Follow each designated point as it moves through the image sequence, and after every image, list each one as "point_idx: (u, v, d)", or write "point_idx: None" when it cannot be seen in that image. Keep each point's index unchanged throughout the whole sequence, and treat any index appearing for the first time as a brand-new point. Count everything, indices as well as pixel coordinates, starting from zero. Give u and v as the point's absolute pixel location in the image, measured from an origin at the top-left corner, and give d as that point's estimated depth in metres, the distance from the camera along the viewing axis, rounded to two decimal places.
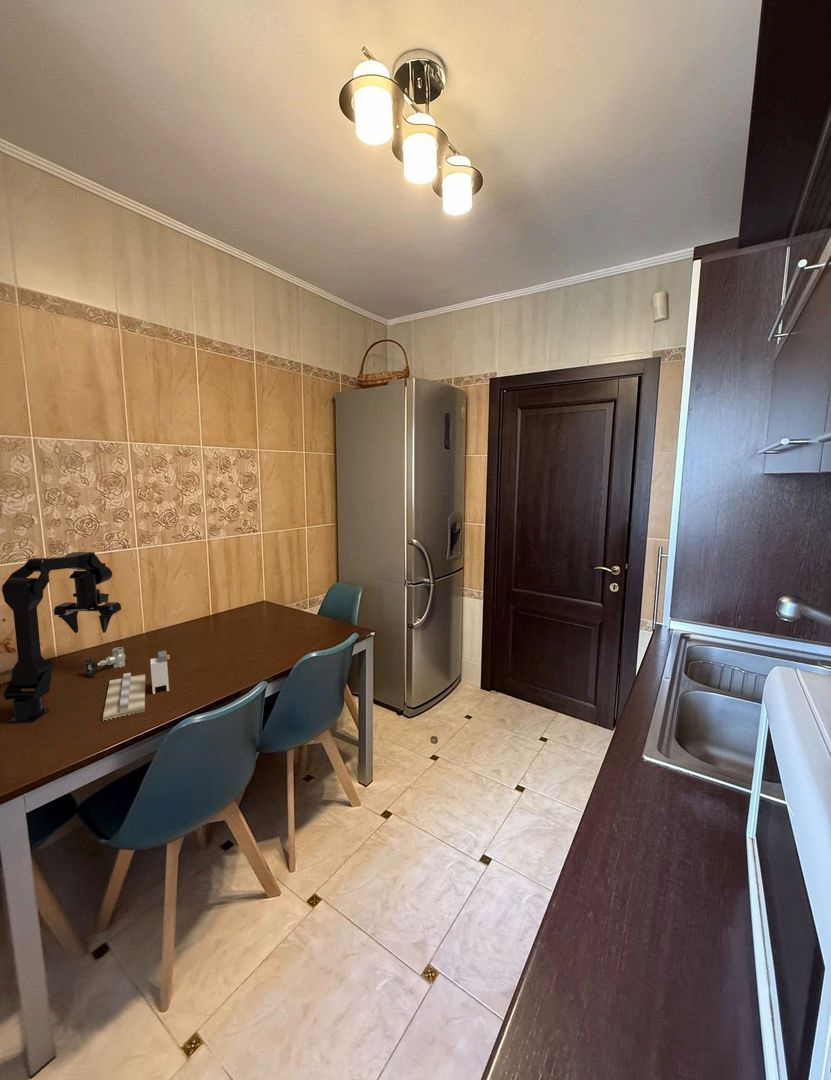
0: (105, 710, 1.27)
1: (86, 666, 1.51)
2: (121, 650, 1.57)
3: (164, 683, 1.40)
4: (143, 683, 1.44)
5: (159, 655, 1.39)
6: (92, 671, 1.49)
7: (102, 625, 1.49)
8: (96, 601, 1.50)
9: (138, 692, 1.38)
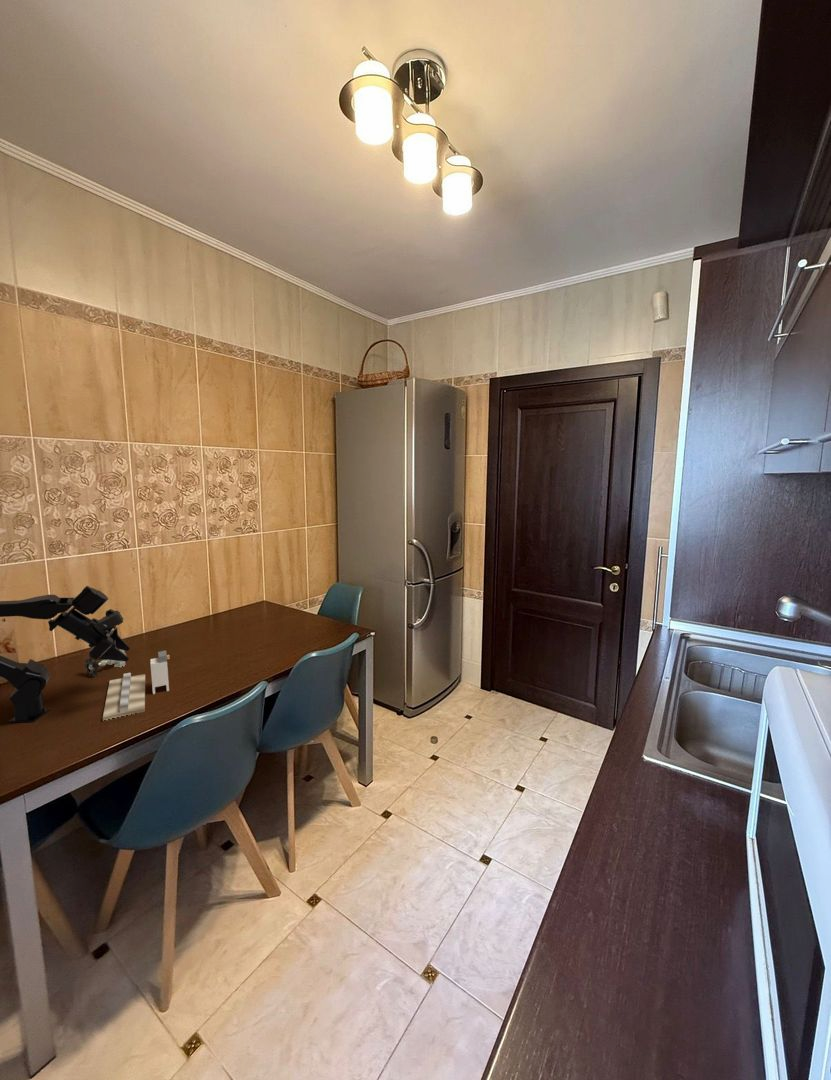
0: (105, 710, 1.27)
1: (87, 666, 1.51)
2: (121, 650, 1.57)
3: (164, 683, 1.40)
4: (143, 683, 1.44)
5: (159, 655, 1.39)
6: (93, 671, 1.49)
7: None
8: (95, 637, 1.29)
9: (138, 692, 1.38)
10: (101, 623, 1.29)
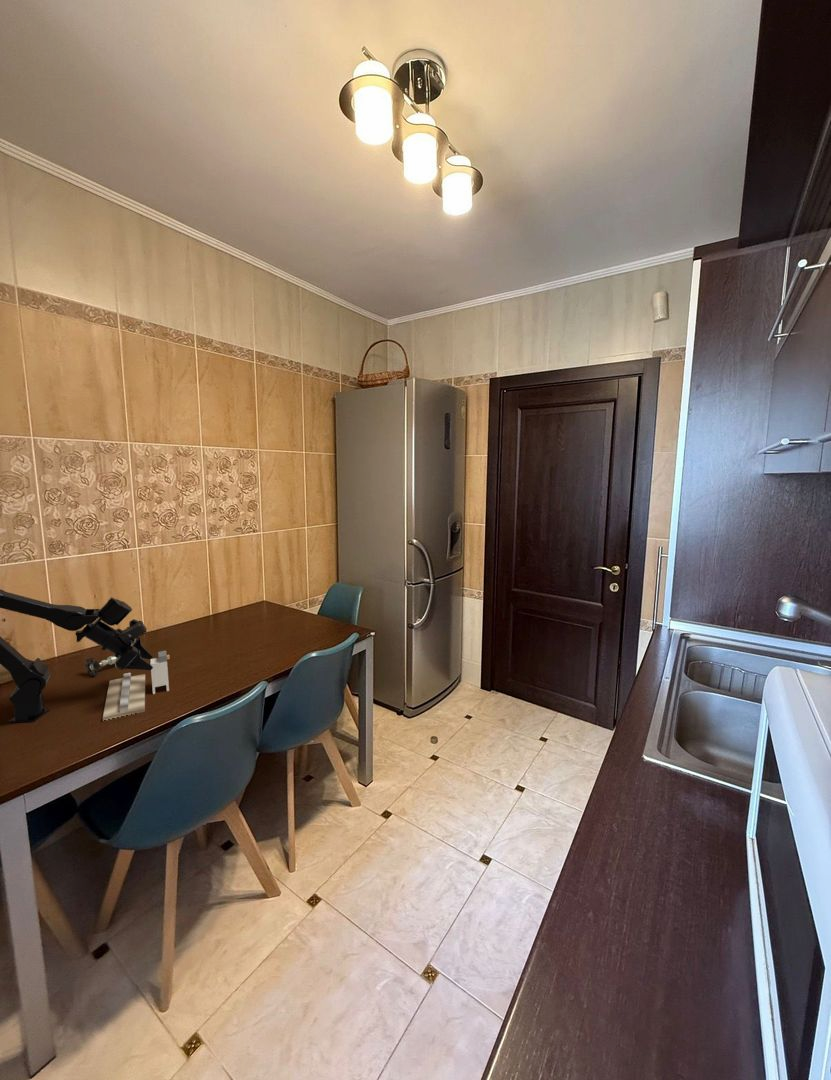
0: (105, 710, 1.27)
1: (88, 666, 1.51)
2: None
3: (164, 683, 1.40)
4: (143, 683, 1.44)
5: (159, 655, 1.39)
6: (94, 671, 1.49)
7: None
8: (120, 647, 1.32)
9: (138, 692, 1.38)
10: (126, 633, 1.33)
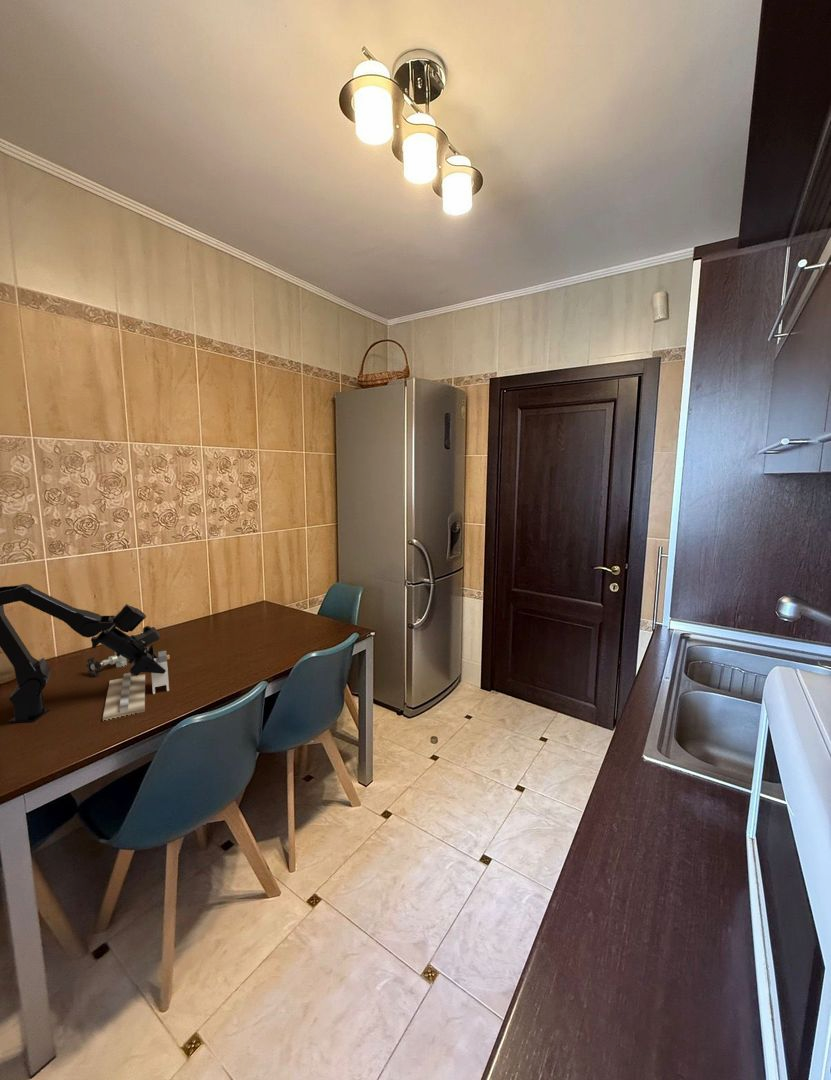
0: (105, 710, 1.27)
1: (89, 666, 1.51)
2: None
3: (164, 683, 1.40)
4: (143, 683, 1.44)
5: (159, 655, 1.39)
6: (95, 670, 1.49)
7: None
8: (134, 653, 1.34)
9: (138, 692, 1.38)
10: (140, 640, 1.35)
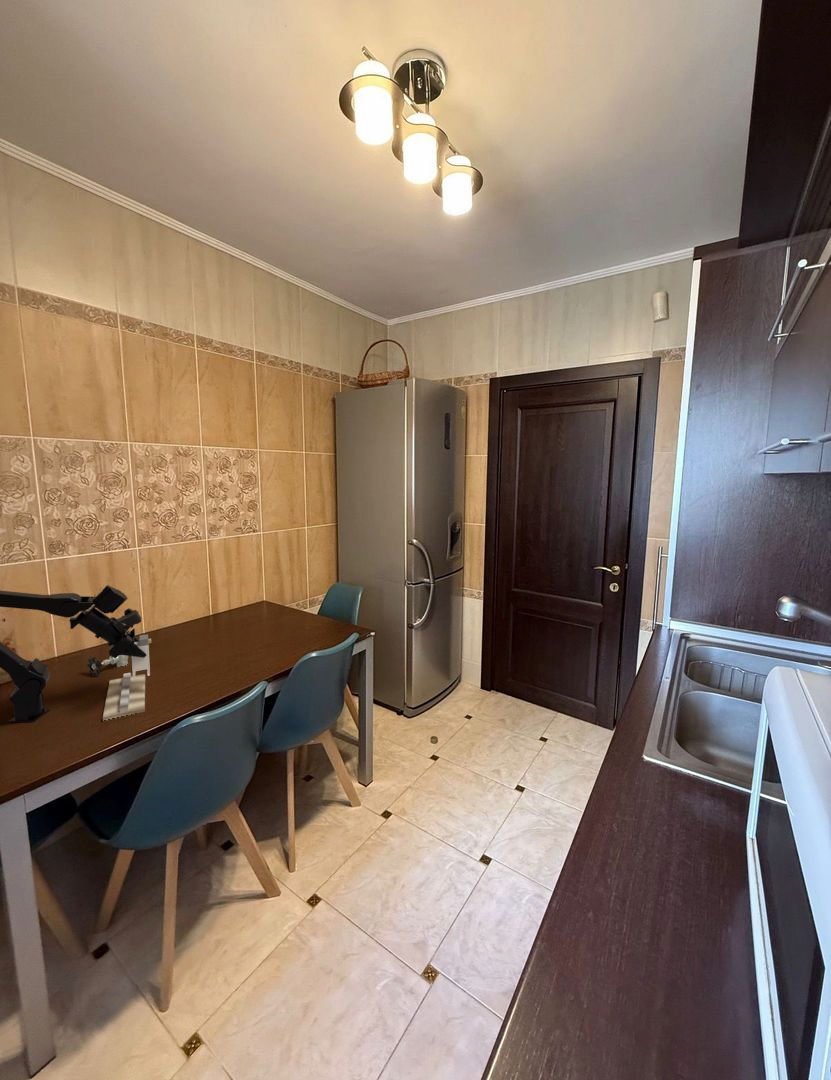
0: (105, 710, 1.27)
1: (90, 665, 1.51)
2: None
3: (145, 667, 1.37)
4: (143, 683, 1.44)
5: (140, 639, 1.36)
6: (96, 670, 1.50)
7: None
8: (114, 635, 1.31)
9: (138, 692, 1.38)
10: (120, 622, 1.32)
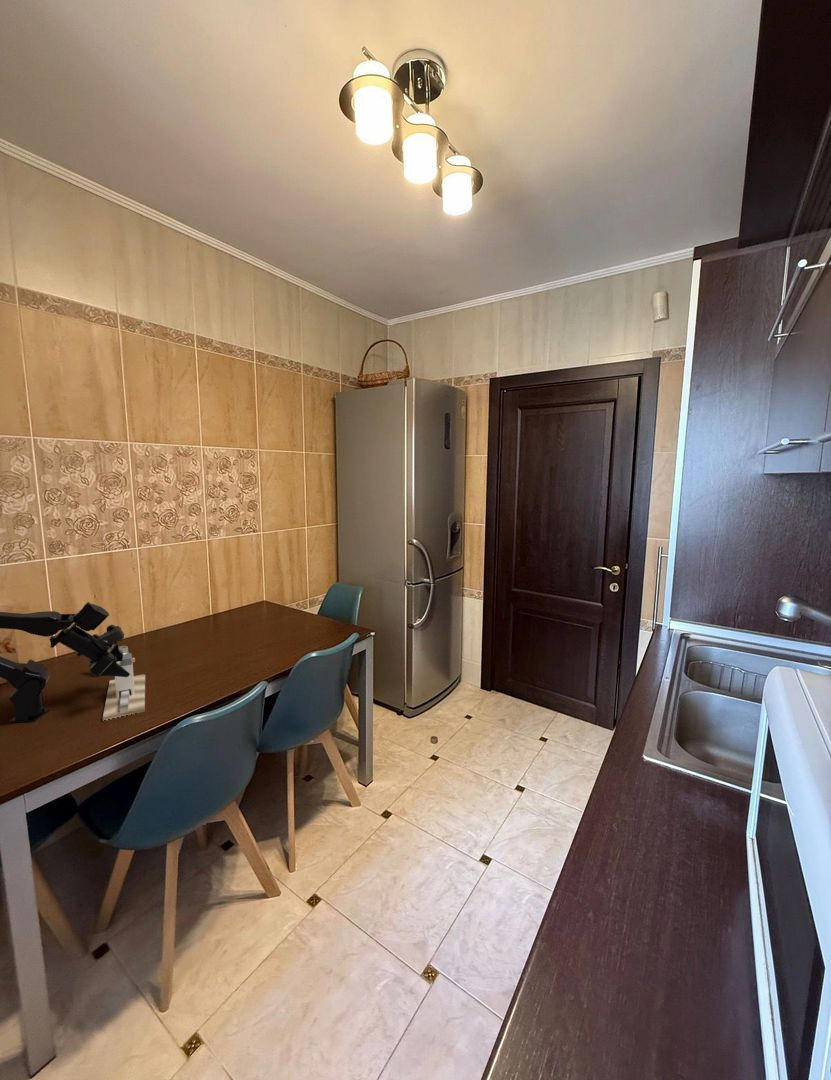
0: (105, 710, 1.27)
1: None
2: (125, 649, 1.58)
3: (129, 687, 1.35)
4: (143, 683, 1.44)
5: (123, 658, 1.34)
6: None
7: None
8: (96, 653, 1.29)
9: (138, 692, 1.38)
10: (102, 639, 1.30)
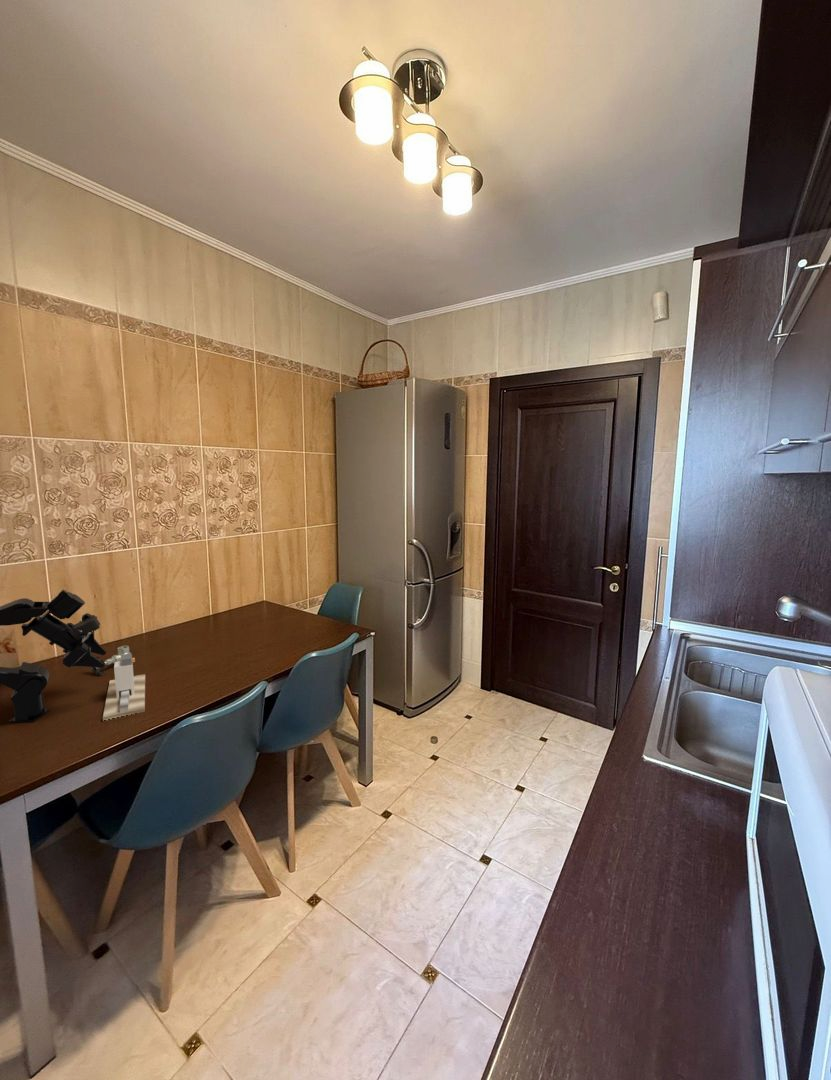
0: (105, 710, 1.27)
1: None
2: (126, 649, 1.59)
3: (129, 687, 1.35)
4: (143, 683, 1.44)
5: (123, 658, 1.34)
6: (100, 669, 1.50)
7: None
8: (70, 642, 1.26)
9: (138, 692, 1.38)
10: (76, 629, 1.27)
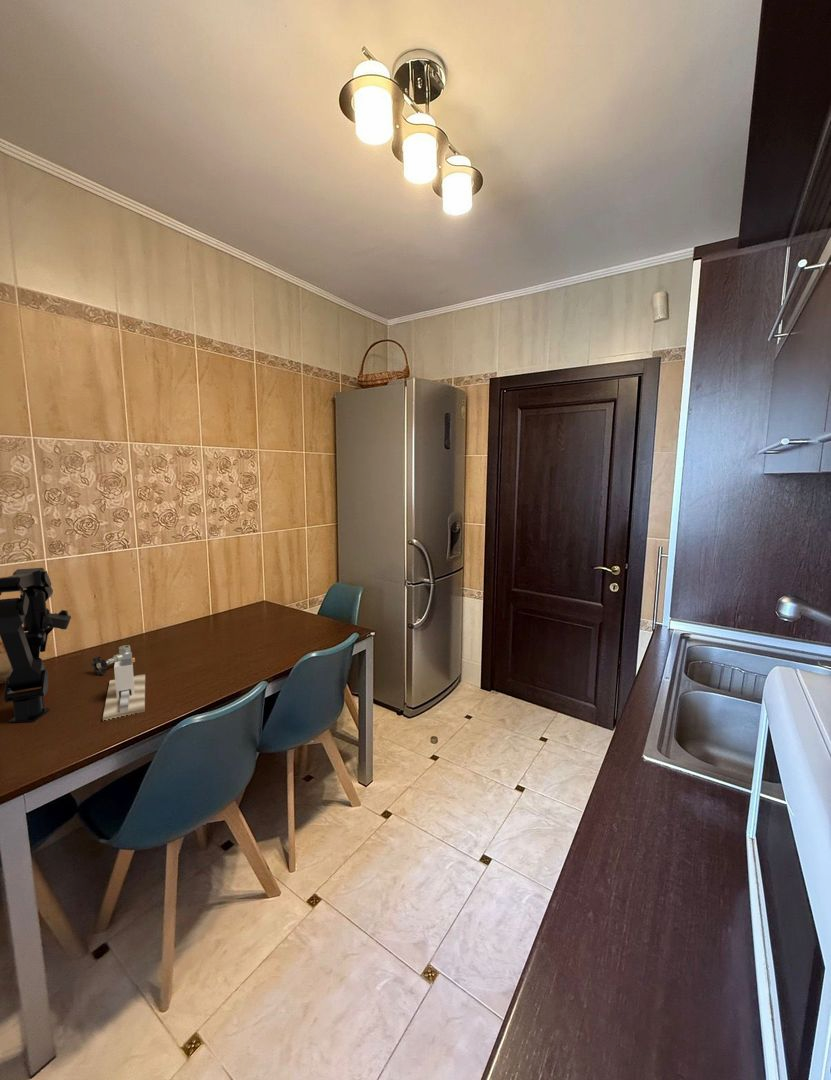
0: (105, 710, 1.27)
1: (94, 665, 1.52)
2: (128, 648, 1.59)
3: (129, 687, 1.35)
4: (143, 683, 1.44)
5: (123, 658, 1.34)
6: (102, 669, 1.50)
7: None
8: (35, 625, 1.33)
9: (138, 692, 1.38)
10: (50, 618, 1.35)
